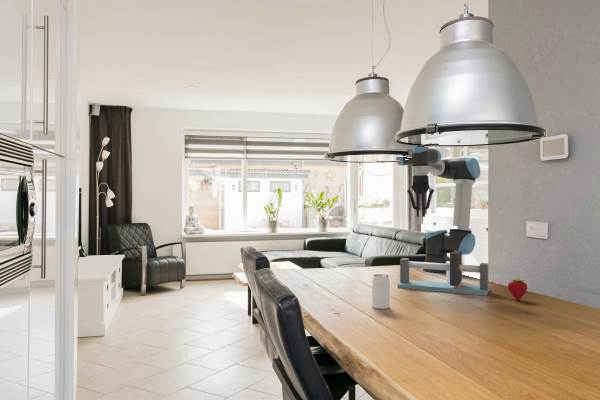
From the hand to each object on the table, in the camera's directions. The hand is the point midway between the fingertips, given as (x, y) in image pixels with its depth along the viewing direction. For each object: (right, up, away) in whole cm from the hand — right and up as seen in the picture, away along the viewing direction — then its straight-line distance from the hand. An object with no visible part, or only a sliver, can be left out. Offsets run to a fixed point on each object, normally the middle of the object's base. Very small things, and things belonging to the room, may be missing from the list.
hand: (421, 223), depth 220 cm
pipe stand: (+6, -29, -14) cm, 33 cm away
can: (-29, -29, -50) cm, 65 cm away
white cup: (+17, -29, +2) cm, 34 cm away
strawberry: (+29, -29, -38) cm, 56 cm away
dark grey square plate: (+11, -26, -17) cm, 33 cm away
